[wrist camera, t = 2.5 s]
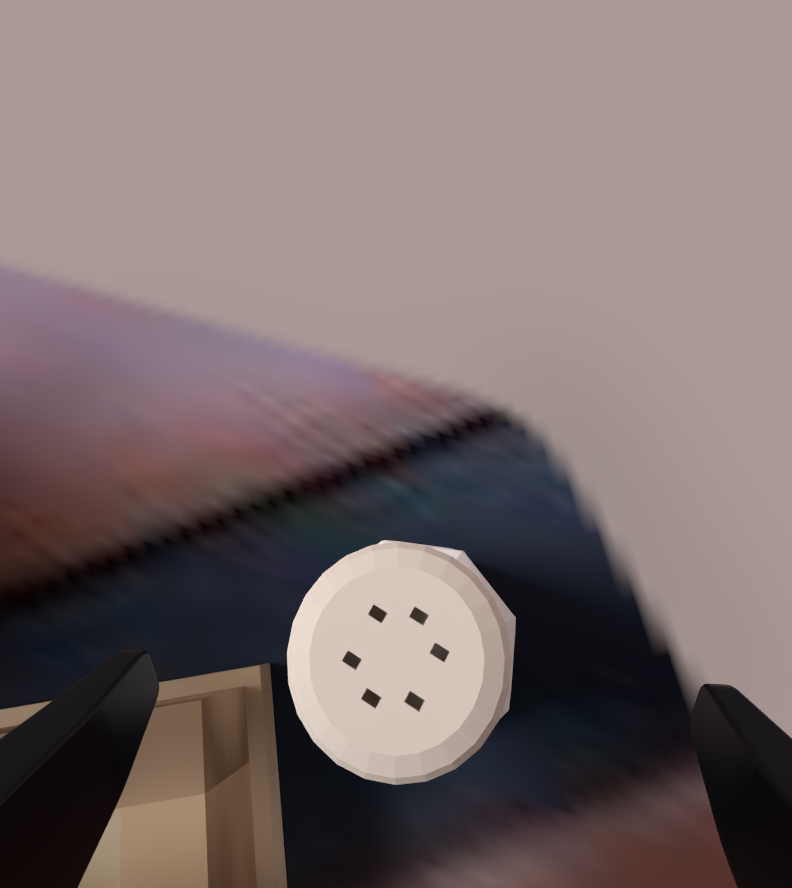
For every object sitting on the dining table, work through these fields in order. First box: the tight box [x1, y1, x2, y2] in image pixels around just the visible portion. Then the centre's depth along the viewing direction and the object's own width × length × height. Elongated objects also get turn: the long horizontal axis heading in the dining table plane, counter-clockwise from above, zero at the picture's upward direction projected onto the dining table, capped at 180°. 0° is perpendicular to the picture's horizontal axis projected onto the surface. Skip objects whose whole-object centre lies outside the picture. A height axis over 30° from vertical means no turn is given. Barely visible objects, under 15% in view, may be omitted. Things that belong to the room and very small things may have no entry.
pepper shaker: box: [287, 540, 516, 785], centre depth 12 cm, size 5×5×11 cm
